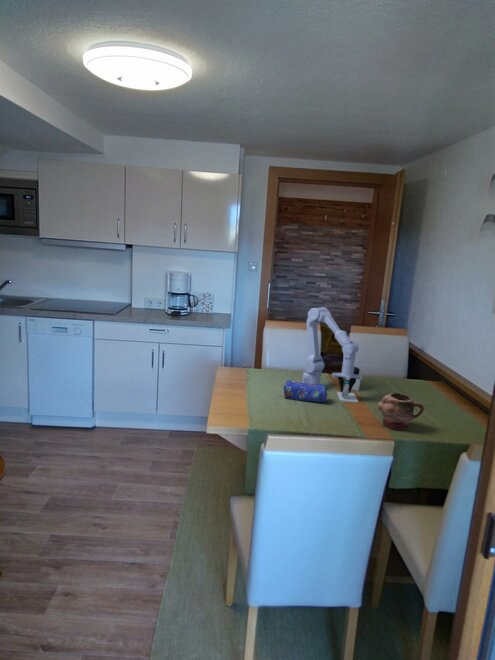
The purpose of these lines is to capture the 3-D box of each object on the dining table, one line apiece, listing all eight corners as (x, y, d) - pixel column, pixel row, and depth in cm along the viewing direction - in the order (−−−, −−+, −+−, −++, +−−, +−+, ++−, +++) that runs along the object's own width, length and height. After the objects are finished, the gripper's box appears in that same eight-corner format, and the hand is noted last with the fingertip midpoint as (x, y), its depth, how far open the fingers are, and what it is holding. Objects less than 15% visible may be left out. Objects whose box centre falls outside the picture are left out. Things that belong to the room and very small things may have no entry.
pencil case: (281, 399, 217) (282, 381, 215) (283, 394, 225) (285, 376, 223) (326, 406, 213) (328, 387, 211) (326, 400, 221) (328, 381, 219)
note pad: (340, 401, 220) (340, 399, 220) (336, 392, 233) (336, 391, 233) (358, 402, 220) (358, 401, 220) (353, 393, 233) (353, 392, 233)
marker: (341, 397, 221) (343, 380, 219) (340, 394, 224) (342, 378, 223) (348, 397, 221) (350, 381, 219) (347, 395, 224) (349, 379, 223)
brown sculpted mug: (413, 421, 201) (418, 393, 198) (425, 433, 189) (430, 402, 186) (371, 419, 199) (375, 390, 196) (380, 431, 187) (385, 400, 185)
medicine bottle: (357, 387, 245) (359, 366, 242) (359, 391, 238) (361, 370, 235) (344, 385, 245) (346, 365, 243) (345, 389, 238) (348, 368, 236)
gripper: (334, 367, 216) (331, 393, 219) (364, 369, 215) (361, 395, 218) (332, 363, 223) (330, 388, 226) (361, 365, 222) (358, 391, 225)
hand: (345, 391), depth 222 cm, fingers closed on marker, 3 cm apart
